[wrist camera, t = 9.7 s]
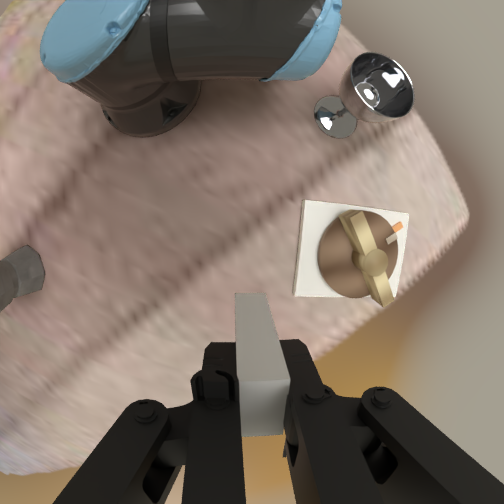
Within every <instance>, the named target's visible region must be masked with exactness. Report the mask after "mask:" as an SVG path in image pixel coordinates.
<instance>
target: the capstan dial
mask: <svg viewBox="0 0 504 504" xmlns="http://www.w3.org/2000/svg"><path fill="white" fill-rule="evenodd" d="M338 216H339V217H337V218H336V219H335V220H333V221H332V222H331V223H330V225H329V226H328V227H327V228H326V230H325V232H324V233H323V235H322V238H321V240H320V243H319V247H318V266H319V270H320V273H321V275H322V277H323V279H324V280H325V282H326V283H327V284H328V285H329V286H330V287H331V288H332V289H333V290H334V291H335V292H337V293H338V294H340V295H342V296H345V297H349V298H362V297H366V296H369V295H371V298H372V299H374V300H375V301H376V302H377V303H379V304H380V305H381V306H382V307H383V308H384V307H385V306H387V305H388V304H390V303H391V302H393V301H394V297H393V294H392V290H391V287H390V284H389V281H388V280H389V278H390V277H391V275H392V273H393V271H394V269H395V266H396V263H397V258H398V242H397V239H398V237H397V235H396V232H394V230H393V228H392V226H391V225H390V224H389V222H388V221H387V220H386V219H385V218H383V217H382V216H381V215H379V214H377V213H374V212H371V211H364V210H353V209H349V210H347V211H345V212H344V213H342V214H340V215H338Z"/></svg>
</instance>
